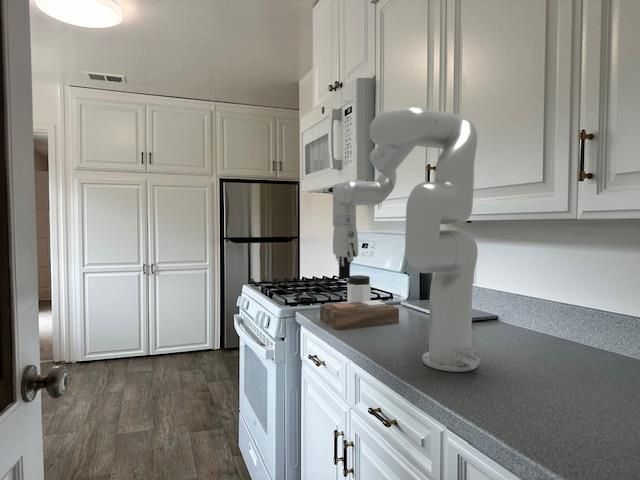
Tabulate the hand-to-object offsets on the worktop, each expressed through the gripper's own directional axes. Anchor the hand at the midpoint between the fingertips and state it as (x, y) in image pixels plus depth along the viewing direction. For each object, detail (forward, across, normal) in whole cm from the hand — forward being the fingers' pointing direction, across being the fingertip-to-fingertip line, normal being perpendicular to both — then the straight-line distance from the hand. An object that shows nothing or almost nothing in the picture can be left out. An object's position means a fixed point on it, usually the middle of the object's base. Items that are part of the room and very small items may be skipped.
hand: (344, 278), depth 139 cm
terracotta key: (+12, 0, 0) cm, 13 cm away
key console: (+15, 0, -5) cm, 16 cm away
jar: (+15, +19, -16) cm, 29 cm away
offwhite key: (+13, 0, -11) cm, 17 cm away
